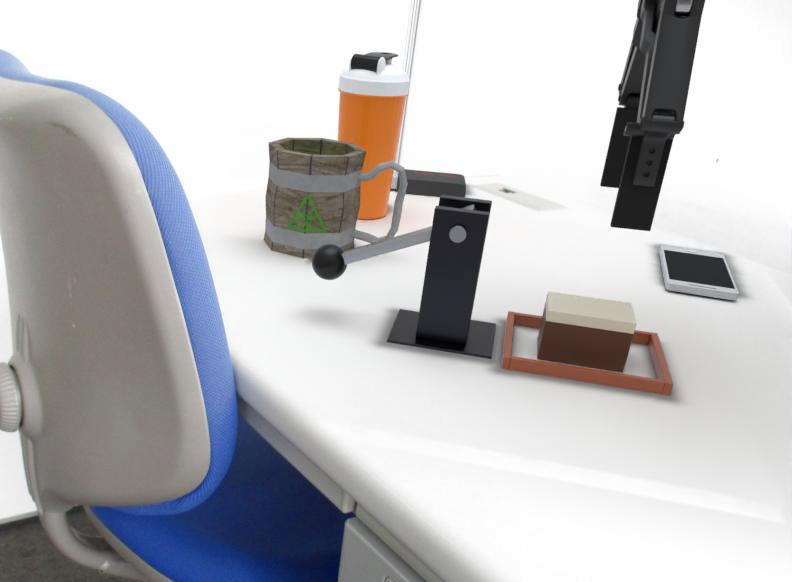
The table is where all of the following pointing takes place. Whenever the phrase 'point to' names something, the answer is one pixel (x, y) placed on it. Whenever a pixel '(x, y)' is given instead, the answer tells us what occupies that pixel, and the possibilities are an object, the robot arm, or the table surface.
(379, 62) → the shaker bottle
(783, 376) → the table surface
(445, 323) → the lever stand
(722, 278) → the smartphone
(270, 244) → the mug
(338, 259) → the lever
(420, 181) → the usb drive
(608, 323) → the cake slice
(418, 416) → the table surface
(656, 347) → the reddish-brown rectangular frame
